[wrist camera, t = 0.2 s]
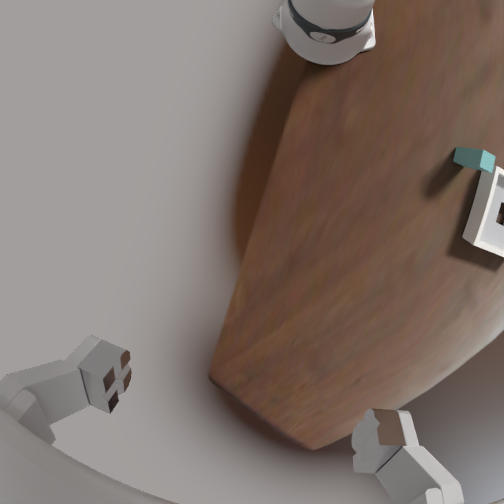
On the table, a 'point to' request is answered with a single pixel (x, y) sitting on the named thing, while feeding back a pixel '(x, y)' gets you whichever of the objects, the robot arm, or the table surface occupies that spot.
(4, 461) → the robot arm
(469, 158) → the peg
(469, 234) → the box
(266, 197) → the table surface
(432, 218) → the table surface
